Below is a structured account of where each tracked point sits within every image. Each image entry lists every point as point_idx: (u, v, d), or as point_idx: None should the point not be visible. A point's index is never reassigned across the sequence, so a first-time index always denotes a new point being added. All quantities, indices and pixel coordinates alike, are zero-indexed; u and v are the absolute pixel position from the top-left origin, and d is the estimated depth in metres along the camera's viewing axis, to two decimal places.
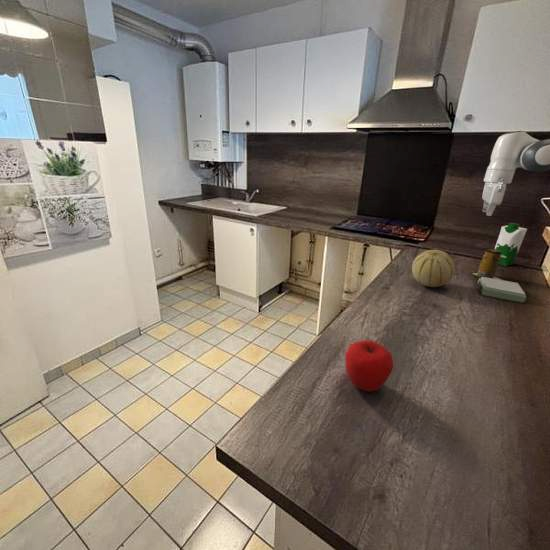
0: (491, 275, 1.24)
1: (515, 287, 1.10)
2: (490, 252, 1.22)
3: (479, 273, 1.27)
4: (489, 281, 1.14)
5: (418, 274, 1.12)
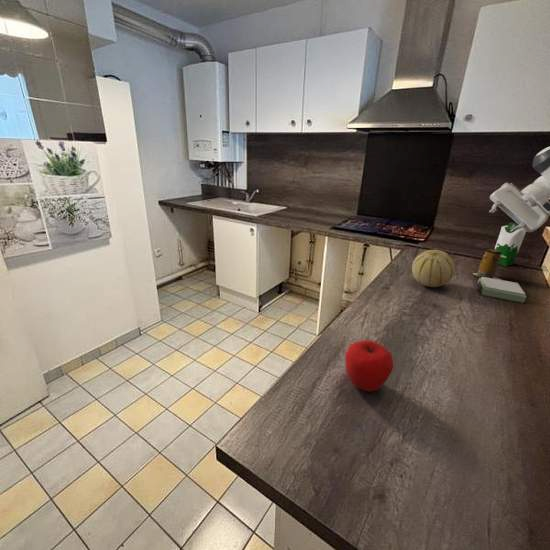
0: (491, 275, 1.24)
1: (515, 287, 1.10)
2: (490, 252, 1.22)
3: (479, 273, 1.27)
4: (489, 281, 1.14)
5: (418, 274, 1.12)
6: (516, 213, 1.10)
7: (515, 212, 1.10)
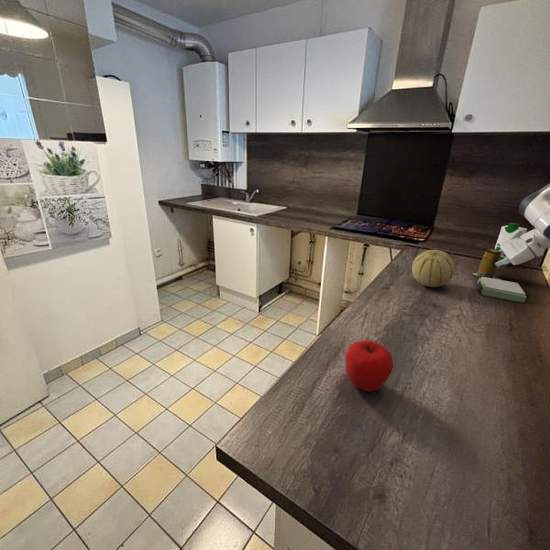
0: (491, 275, 1.24)
1: (515, 287, 1.10)
2: (490, 252, 1.22)
3: (479, 273, 1.27)
4: (489, 281, 1.14)
5: (418, 274, 1.12)
6: (505, 252, 1.20)
7: (504, 252, 1.20)
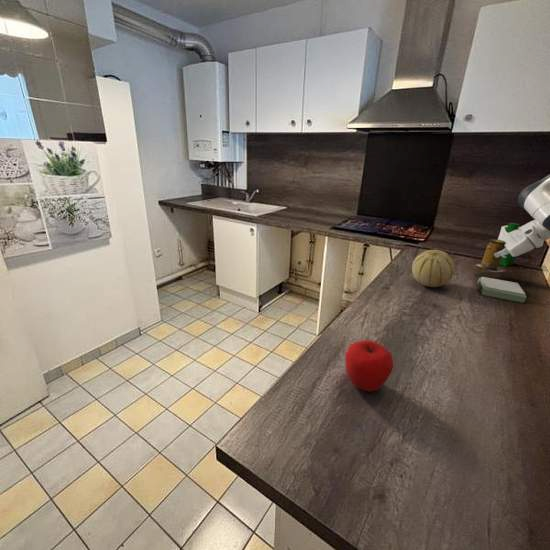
0: (495, 266, 1.22)
1: (515, 287, 1.10)
2: (494, 242, 1.20)
3: (483, 264, 1.25)
4: (489, 281, 1.14)
5: (418, 274, 1.12)
6: (504, 244, 1.19)
7: None
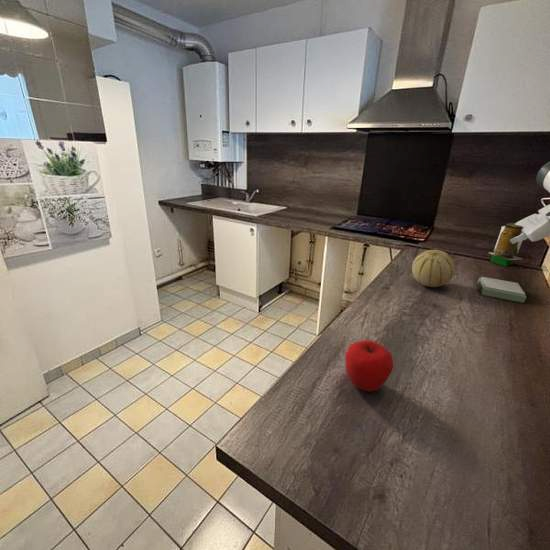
0: (511, 254, 1.10)
1: (515, 287, 1.10)
2: (510, 227, 1.08)
3: (497, 252, 1.13)
4: (489, 281, 1.14)
5: (418, 274, 1.12)
6: (521, 229, 1.07)
7: None
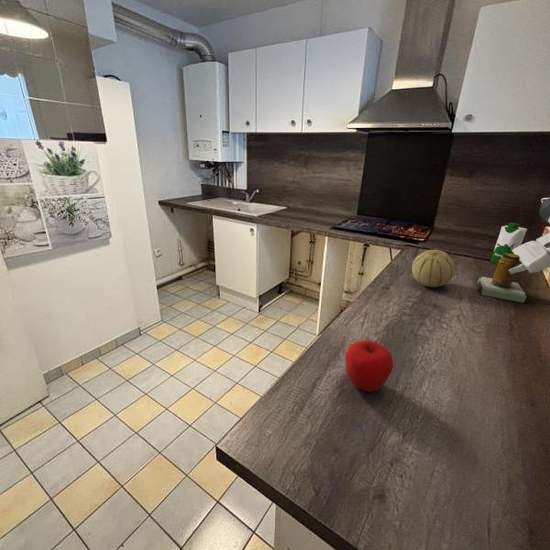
0: (508, 283, 1.08)
1: None
2: (508, 257, 1.06)
3: (494, 281, 1.11)
4: None
5: (418, 274, 1.12)
6: None
7: None
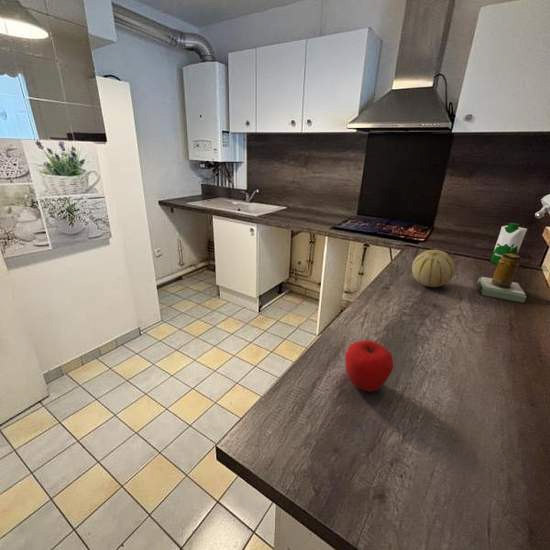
0: (508, 283, 1.08)
1: None
2: (508, 257, 1.06)
3: (494, 281, 1.11)
4: None
5: (418, 274, 1.12)
6: None
7: None
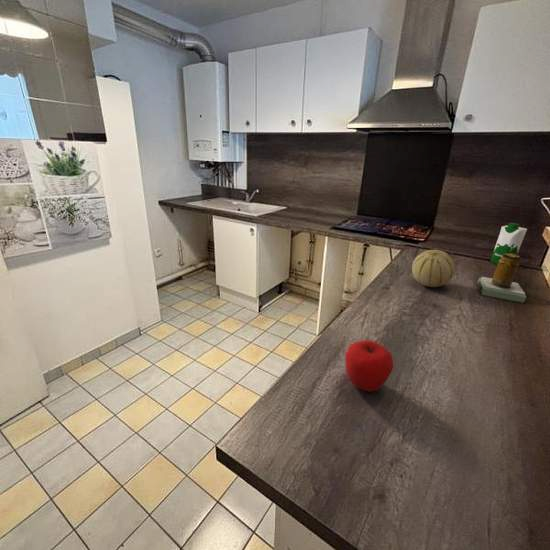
0: (508, 283, 1.08)
1: None
2: (508, 257, 1.06)
3: (494, 281, 1.11)
4: None
5: (418, 274, 1.12)
6: None
7: None
